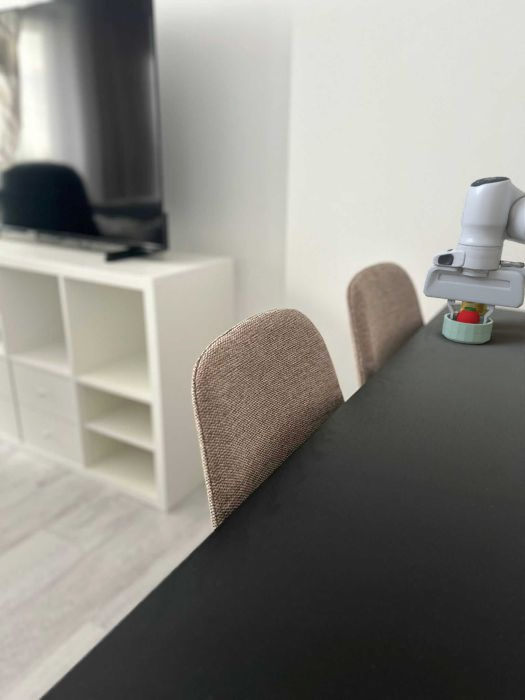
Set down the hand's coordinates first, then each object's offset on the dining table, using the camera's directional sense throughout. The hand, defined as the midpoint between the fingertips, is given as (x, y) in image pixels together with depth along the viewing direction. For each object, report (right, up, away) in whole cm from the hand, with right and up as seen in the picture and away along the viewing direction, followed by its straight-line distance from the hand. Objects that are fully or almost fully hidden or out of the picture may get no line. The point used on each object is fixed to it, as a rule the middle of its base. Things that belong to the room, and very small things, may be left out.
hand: (467, 321), depth 112 cm
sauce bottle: (+6, 0, +11) cm, 12 cm away
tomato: (0, -2, +1) cm, 2 cm away
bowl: (0, -4, +1) cm, 4 cm away
